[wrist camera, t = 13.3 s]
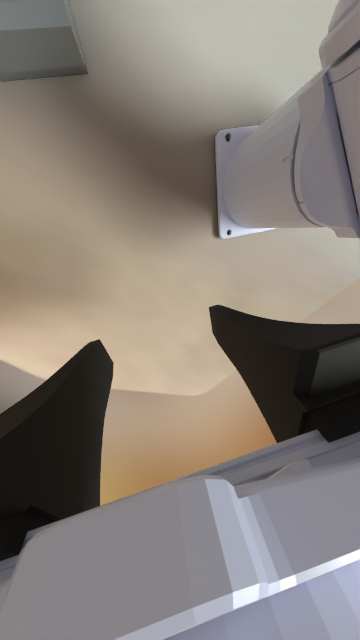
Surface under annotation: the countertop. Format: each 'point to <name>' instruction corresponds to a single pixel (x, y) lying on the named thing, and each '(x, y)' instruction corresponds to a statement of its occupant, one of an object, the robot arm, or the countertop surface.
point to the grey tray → (38, 40)
